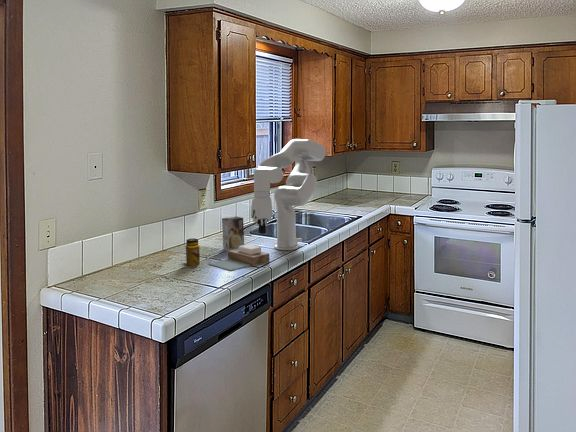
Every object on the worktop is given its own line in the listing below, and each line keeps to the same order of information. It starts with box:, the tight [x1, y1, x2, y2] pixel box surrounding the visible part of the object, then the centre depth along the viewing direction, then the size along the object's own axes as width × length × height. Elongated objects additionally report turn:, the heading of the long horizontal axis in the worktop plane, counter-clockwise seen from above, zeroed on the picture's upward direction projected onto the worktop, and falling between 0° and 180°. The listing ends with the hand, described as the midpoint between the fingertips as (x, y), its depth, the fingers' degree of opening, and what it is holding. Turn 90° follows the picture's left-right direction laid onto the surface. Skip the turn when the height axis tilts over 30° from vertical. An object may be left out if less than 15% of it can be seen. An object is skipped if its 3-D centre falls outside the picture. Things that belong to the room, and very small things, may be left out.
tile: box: [239, 243, 262, 255], centre depth 255 cm, size 6×9×2 cm, turn 45°
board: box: [227, 249, 270, 267], centre depth 255 cm, size 10×18×4 cm, turn 45°
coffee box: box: [221, 216, 245, 252], centre depth 277 cm, size 9×6×16 cm
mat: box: [208, 258, 252, 272], centre depth 248 cm, size 12×16×1 cm
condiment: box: [181, 237, 202, 269], centre depth 248 cm, size 7×8×12 cm
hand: (262, 233), depth 259 cm, fingers closed
